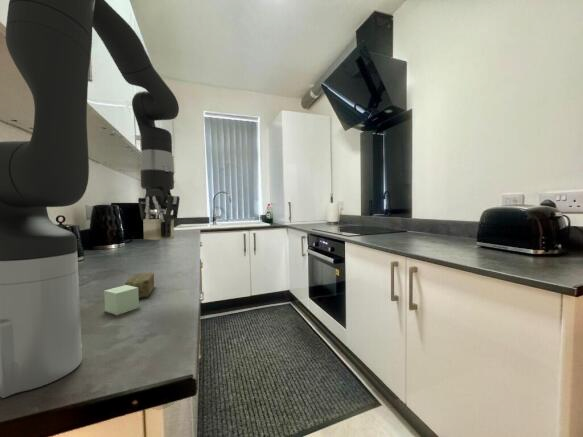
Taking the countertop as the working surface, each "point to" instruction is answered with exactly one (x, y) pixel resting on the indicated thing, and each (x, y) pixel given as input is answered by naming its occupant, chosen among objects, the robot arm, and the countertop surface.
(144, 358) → the countertop surface
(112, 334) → the countertop surface
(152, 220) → the birch cube
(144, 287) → the stone block
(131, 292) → the sage cube
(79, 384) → the countertop surface
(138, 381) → the countertop surface
